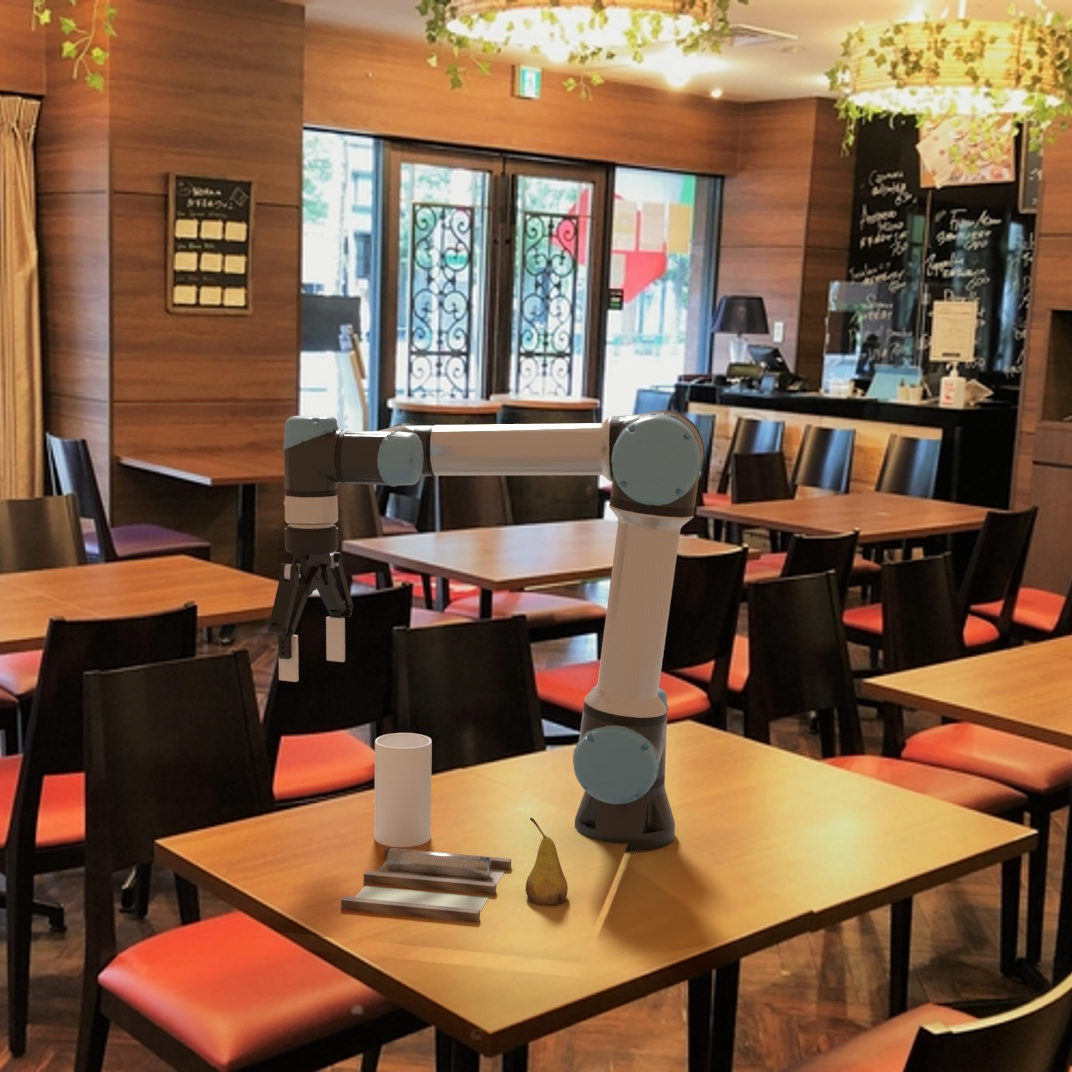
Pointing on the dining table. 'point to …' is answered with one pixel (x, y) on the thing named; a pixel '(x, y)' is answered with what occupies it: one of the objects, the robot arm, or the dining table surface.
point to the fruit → (546, 876)
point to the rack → (426, 893)
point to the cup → (402, 789)
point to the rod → (439, 863)
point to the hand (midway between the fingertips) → (312, 670)
